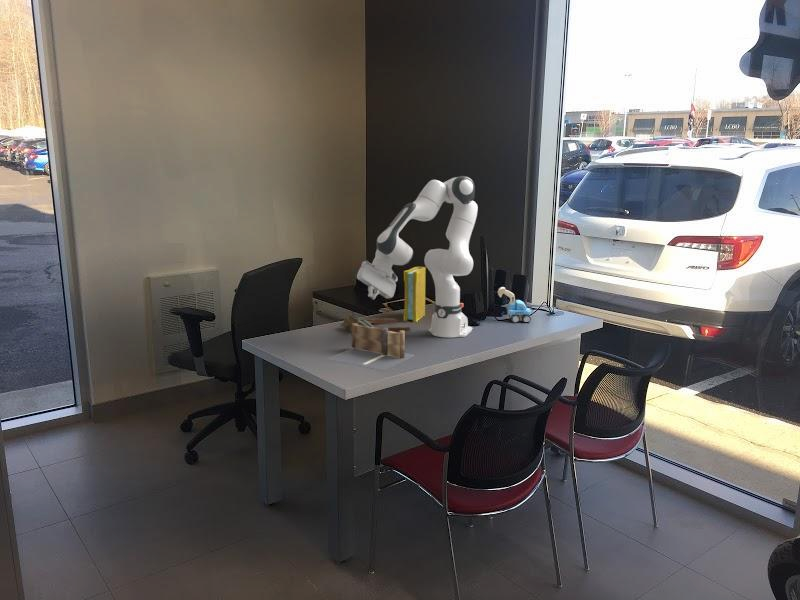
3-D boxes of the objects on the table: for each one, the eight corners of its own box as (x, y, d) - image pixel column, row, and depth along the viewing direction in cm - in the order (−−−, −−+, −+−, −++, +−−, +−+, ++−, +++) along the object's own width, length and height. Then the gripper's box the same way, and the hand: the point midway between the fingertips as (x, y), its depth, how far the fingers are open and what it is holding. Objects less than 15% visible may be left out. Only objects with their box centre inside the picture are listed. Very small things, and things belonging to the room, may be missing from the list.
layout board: (359, 346, 284) (359, 344, 284) (415, 356, 270) (415, 354, 270) (325, 360, 264) (325, 358, 264) (384, 371, 250) (384, 370, 250)
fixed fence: (381, 354, 270) (381, 328, 268) (384, 353, 272) (384, 327, 270) (402, 358, 265) (402, 332, 262) (405, 357, 267) (405, 330, 264)
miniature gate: (413, 326, 305) (351, 326, 294) (412, 337, 306) (350, 338, 295) (393, 313, 330) (335, 313, 319) (392, 324, 331) (334, 325, 320)
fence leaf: (383, 352, 272) (383, 327, 269) (380, 353, 270) (380, 328, 268) (353, 346, 279) (353, 322, 277) (350, 348, 278) (350, 323, 275)
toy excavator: (495, 318, 334) (497, 285, 330) (529, 319, 333) (530, 285, 330) (497, 323, 325) (499, 288, 322) (531, 323, 325) (533, 289, 321)
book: (416, 322, 326) (416, 272, 321) (403, 320, 329) (403, 271, 323) (427, 314, 342) (427, 267, 336) (415, 313, 344) (415, 266, 339)
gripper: (368, 257, 283) (359, 285, 277) (400, 280, 295) (391, 307, 289) (359, 259, 287) (349, 287, 282) (390, 282, 299) (382, 309, 294)
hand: (371, 297), depth 286 cm, fingers closed
